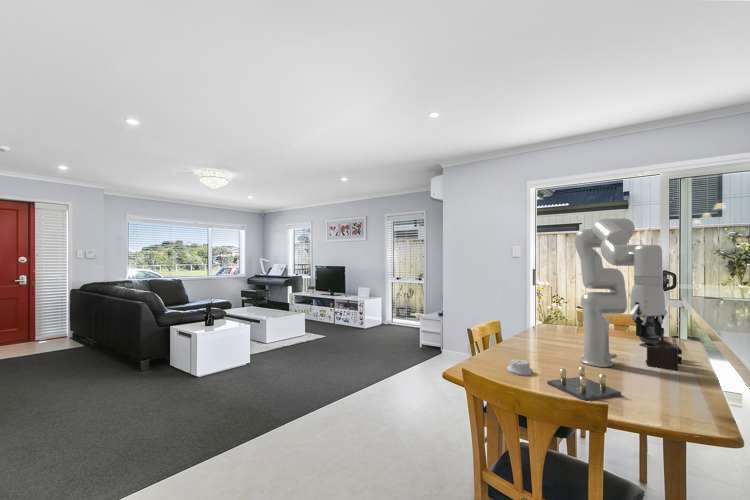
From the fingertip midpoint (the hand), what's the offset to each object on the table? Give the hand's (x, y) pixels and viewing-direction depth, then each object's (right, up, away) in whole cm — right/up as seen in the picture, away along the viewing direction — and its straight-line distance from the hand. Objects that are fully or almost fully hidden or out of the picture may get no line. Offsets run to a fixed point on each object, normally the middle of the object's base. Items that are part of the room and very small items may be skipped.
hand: (648, 335), depth 117 cm
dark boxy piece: (+32, -22, +34) cm, 52 cm away
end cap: (+44, -22, +44) cm, 66 cm away
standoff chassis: (-17, -22, +9) cm, 29 cm away
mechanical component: (-31, -22, +29) cm, 48 cm away
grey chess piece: (0, -4, 0) cm, 4 cm away
